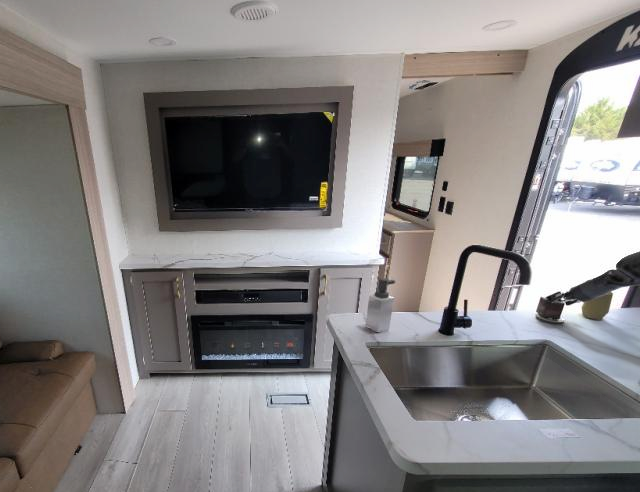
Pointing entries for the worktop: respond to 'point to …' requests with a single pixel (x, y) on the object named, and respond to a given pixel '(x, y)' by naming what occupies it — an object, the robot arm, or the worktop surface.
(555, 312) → the box
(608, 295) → the squeeze bottle
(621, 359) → the worktop surface
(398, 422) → the worktop surface
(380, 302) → the soap dispenser
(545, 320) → the white flat disc
